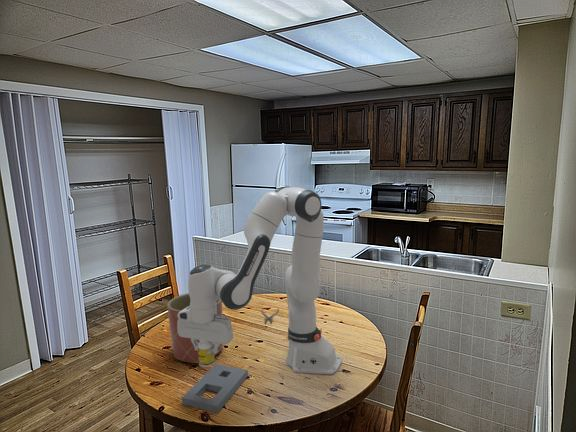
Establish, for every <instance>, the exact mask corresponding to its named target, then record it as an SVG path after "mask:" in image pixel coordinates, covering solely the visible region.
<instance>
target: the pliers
mask: <svg viewBox="0 0 576 432" xmlns="http://www.w3.org/2000/svg"><path fill="white" fill-rule="evenodd" d="M278 313H279V308H277V310H276V312H275V313H273V314H271V316H268V315H267V314H265V313H264V308H262V309H261V314H262V315H263V316H264V317H265V319H264V322H263V323H264V324H265V325H266V324H267V323H268V321H269V322H270V323H269V324H270V325H271V324H272V323H273V322H274V321H273V317H275V316H276V315H277V314H278Z"/></svg>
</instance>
